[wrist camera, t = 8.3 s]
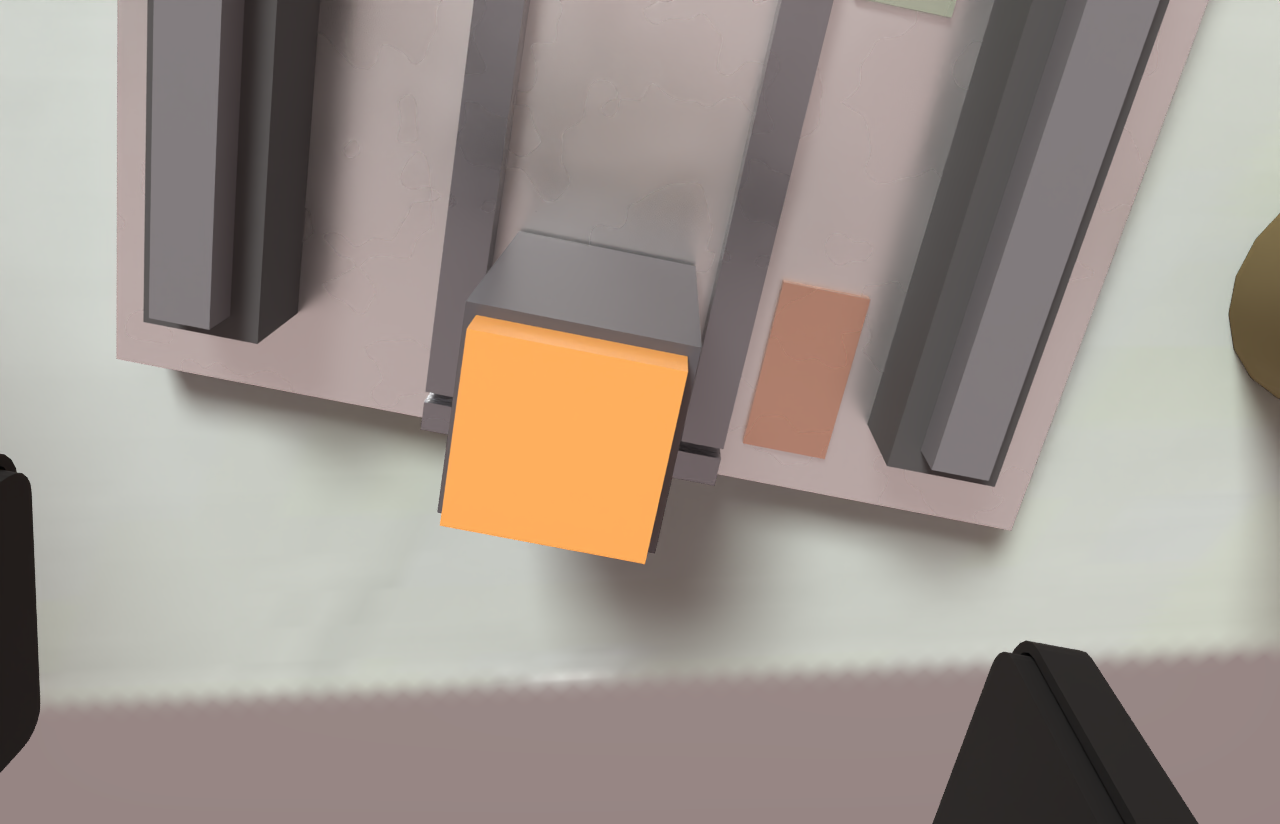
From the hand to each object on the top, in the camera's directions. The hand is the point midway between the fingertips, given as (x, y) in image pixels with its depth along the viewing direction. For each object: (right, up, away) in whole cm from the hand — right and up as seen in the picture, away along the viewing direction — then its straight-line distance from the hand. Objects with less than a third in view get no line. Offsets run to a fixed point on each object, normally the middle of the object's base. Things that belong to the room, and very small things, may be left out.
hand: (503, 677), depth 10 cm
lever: (0, +4, +13) cm, 14 cm away
